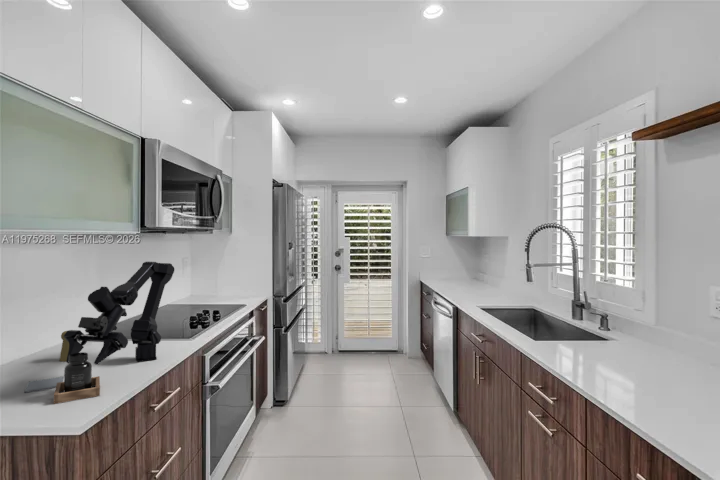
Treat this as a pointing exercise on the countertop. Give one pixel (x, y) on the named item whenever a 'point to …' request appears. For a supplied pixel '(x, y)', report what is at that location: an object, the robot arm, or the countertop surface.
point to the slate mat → (43, 384)
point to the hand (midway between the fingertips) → (81, 363)
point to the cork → (64, 348)
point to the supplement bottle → (78, 373)
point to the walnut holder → (76, 392)
